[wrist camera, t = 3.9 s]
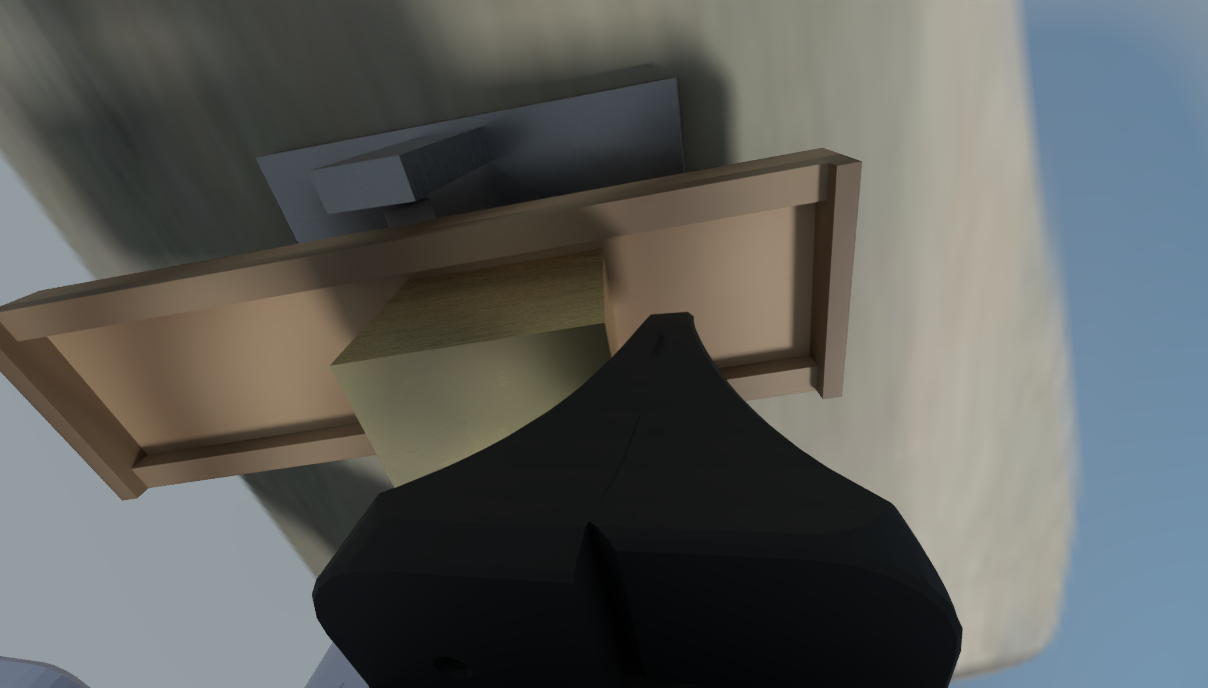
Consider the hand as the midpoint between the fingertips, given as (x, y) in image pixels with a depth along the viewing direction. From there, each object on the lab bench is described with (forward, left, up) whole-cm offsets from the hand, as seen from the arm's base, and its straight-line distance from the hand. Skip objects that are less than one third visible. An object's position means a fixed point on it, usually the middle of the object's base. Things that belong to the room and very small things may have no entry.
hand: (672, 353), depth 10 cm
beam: (0, +7, -3) cm, 7 cm away
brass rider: (0, +4, -2) cm, 4 cm away
